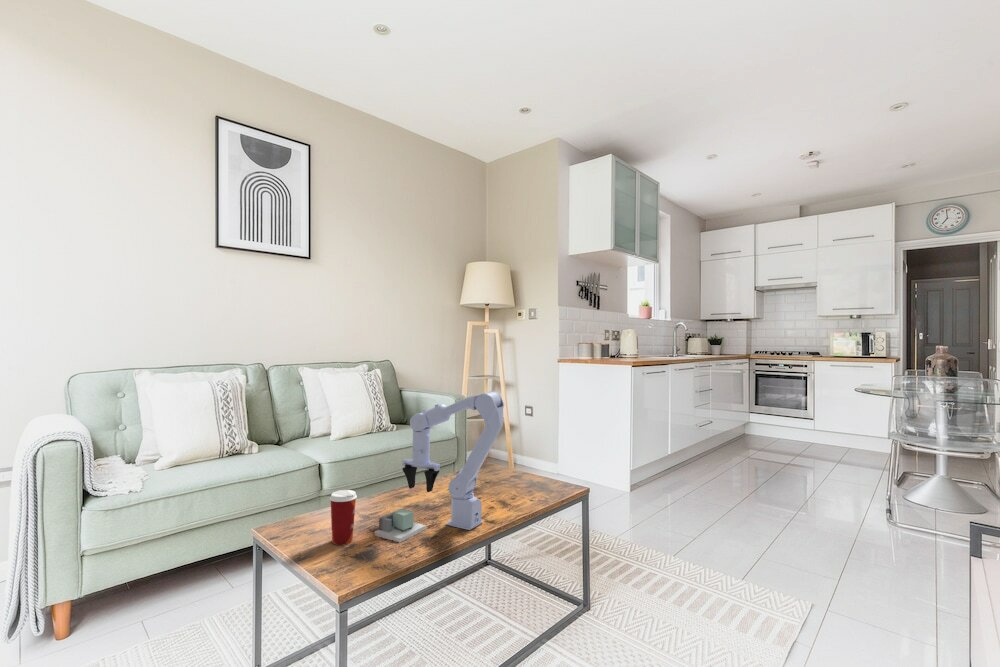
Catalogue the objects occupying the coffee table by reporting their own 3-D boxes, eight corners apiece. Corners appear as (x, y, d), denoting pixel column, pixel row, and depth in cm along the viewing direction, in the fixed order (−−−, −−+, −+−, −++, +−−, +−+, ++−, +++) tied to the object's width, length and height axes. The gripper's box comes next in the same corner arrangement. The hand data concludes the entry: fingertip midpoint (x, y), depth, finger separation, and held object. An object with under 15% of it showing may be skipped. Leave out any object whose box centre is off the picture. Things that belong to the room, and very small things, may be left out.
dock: (425, 529, 149) (426, 514, 150) (399, 542, 139) (400, 526, 139) (401, 523, 154) (401, 508, 154) (374, 535, 144) (374, 519, 144)
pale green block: (413, 528, 147) (413, 512, 147) (403, 532, 144) (403, 515, 144) (403, 524, 150) (403, 508, 150) (392, 528, 147) (393, 511, 147)
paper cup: (361, 541, 140) (362, 493, 140) (337, 549, 134) (338, 498, 134) (347, 534, 145) (348, 487, 145) (323, 541, 139) (324, 493, 140)
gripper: (445, 449, 160) (445, 489, 160) (412, 444, 167) (411, 483, 167) (432, 452, 154) (432, 495, 153) (398, 447, 161) (397, 488, 161)
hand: (420, 489), depth 160 cm, fingers open, 7 cm apart
